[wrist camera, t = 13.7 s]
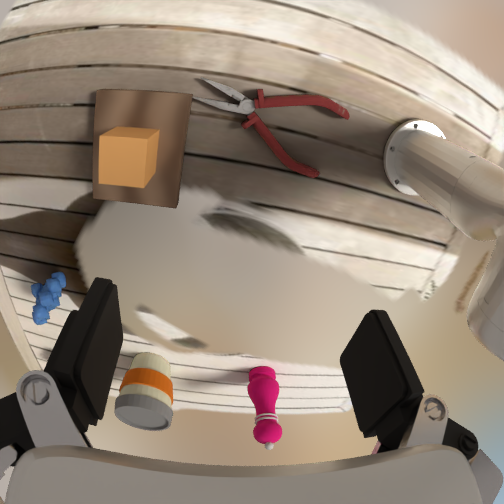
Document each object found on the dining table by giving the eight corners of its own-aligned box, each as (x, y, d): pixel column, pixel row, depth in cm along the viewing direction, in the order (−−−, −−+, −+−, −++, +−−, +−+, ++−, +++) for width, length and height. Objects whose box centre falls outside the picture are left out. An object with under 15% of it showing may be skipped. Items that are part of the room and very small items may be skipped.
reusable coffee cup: (160, 383, 69) (154, 435, 56) (117, 362, 64) (104, 415, 51) (188, 364, 65) (183, 422, 52) (141, 339, 59) (128, 399, 47)
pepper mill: (283, 372, 68) (294, 447, 51) (260, 384, 70) (267, 456, 54) (262, 361, 65) (271, 441, 48) (240, 374, 67) (244, 450, 51)
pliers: (213, 49, 32) (212, 47, 30) (348, 110, 37) (355, 112, 35) (181, 125, 38) (178, 128, 35) (312, 177, 43) (317, 183, 41)
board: (192, 94, 35) (185, 97, 29) (178, 202, 43) (170, 223, 38) (102, 89, 33) (81, 93, 27) (98, 193, 41) (80, 211, 36)
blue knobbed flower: (51, 245, 46) (20, 287, 36) (80, 265, 48) (54, 310, 38) (38, 283, 50) (13, 324, 40) (64, 300, 53) (42, 343, 43)
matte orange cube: (159, 129, 35) (147, 139, 30) (155, 172, 38) (143, 188, 33) (117, 126, 34) (99, 135, 29) (115, 168, 37) (98, 183, 32)
